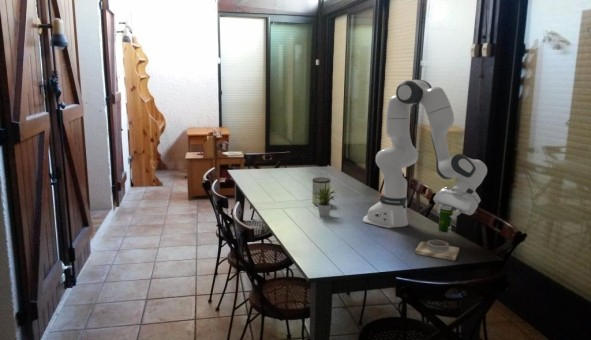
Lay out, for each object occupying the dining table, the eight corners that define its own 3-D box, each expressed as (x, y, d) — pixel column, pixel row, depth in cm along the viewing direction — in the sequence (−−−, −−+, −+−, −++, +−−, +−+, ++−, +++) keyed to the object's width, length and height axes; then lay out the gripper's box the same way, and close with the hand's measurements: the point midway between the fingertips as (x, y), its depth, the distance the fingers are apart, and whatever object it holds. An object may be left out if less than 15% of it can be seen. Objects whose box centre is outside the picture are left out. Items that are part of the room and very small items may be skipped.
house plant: (336, 221, 238) (337, 189, 235) (309, 219, 241) (310, 188, 237) (339, 213, 252) (340, 183, 248) (314, 211, 254) (314, 182, 251)
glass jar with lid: (312, 200, 276) (313, 177, 273) (330, 201, 275) (330, 177, 272) (311, 205, 266) (311, 181, 263) (329, 205, 265) (330, 181, 262)
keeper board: (415, 253, 196) (415, 244, 196) (421, 244, 207) (421, 235, 206) (454, 260, 189) (455, 251, 188) (459, 250, 200) (459, 242, 199)
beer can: (452, 232, 209) (455, 206, 206) (447, 235, 205) (450, 208, 202) (441, 228, 212) (444, 203, 210) (435, 231, 208) (438, 206, 206)
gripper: (441, 182, 216) (424, 205, 213) (478, 193, 199) (461, 218, 196) (446, 190, 220) (430, 213, 217) (484, 201, 203) (466, 226, 200)
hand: (445, 215), depth 206 cm, fingers closed on beer can, 5 cm apart
